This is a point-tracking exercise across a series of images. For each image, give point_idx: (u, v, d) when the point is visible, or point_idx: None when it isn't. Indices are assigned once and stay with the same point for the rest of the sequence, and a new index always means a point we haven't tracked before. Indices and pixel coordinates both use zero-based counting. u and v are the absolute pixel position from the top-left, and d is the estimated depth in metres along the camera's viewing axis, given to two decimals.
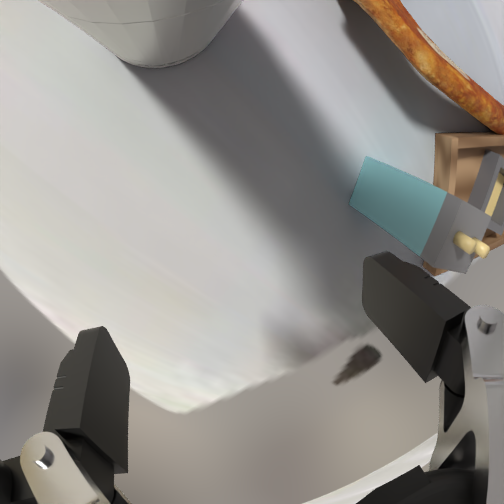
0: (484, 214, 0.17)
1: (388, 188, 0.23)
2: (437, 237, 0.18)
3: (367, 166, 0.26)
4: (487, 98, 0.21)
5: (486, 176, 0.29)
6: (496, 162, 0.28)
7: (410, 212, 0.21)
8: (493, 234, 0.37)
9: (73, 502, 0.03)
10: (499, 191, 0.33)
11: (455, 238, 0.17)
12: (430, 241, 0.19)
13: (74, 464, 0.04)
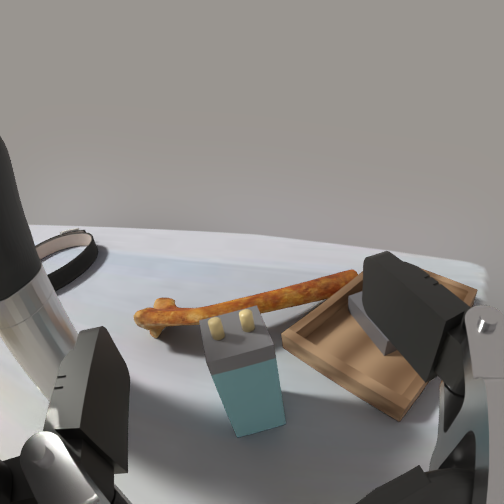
0: (241, 310, 0.26)
1: None
2: None
3: None
4: None
5: (360, 316, 0.36)
6: (353, 301, 0.38)
7: None
8: None
9: (73, 502, 0.03)
10: None
11: (211, 336, 0.23)
12: None
13: (74, 464, 0.04)
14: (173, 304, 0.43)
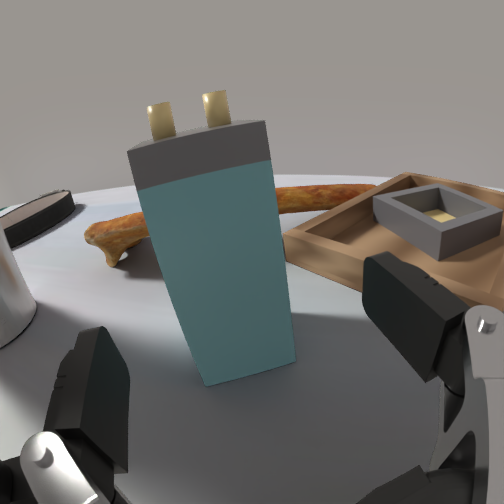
0: None
1: None
2: None
3: None
4: None
5: (394, 217, 0.25)
6: (380, 201, 0.27)
7: None
8: None
9: (73, 502, 0.03)
10: (450, 217, 0.27)
11: None
12: None
13: (74, 464, 0.04)
14: None
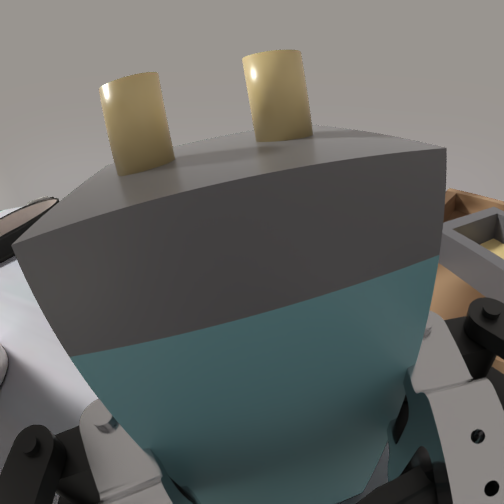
0: None
1: None
2: None
3: None
4: None
5: (459, 257, 0.18)
6: None
7: None
8: None
9: (131, 473, 0.04)
10: None
11: (115, 166, 0.05)
12: None
13: None
14: None
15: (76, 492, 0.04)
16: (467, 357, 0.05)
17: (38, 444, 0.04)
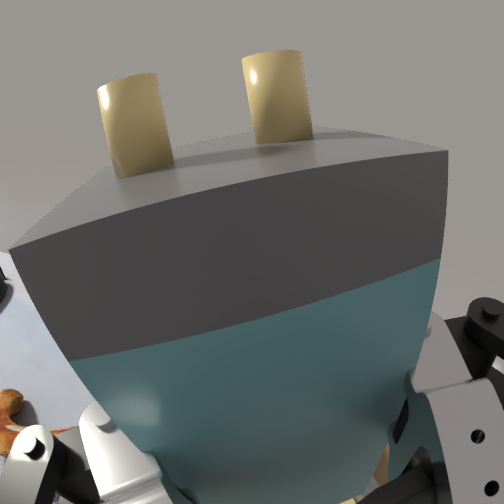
0: None
1: None
2: None
3: None
4: None
5: None
6: None
7: None
8: None
9: (132, 473, 0.04)
10: None
11: (113, 168, 0.05)
12: None
13: None
14: (6, 407, 0.21)
15: (76, 492, 0.04)
16: (467, 357, 0.05)
17: (38, 444, 0.04)
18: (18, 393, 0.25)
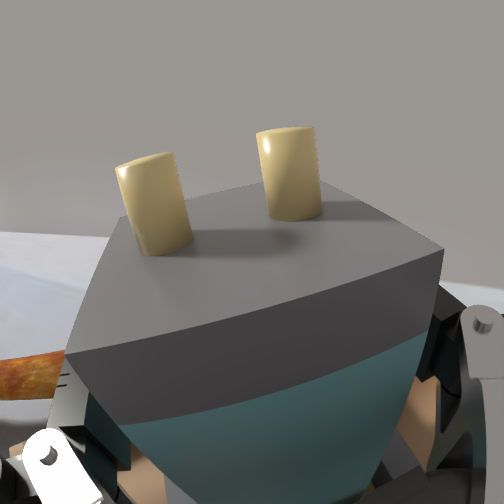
0: (260, 183, 0.08)
1: None
2: None
3: None
4: (35, 356, 0.15)
5: None
6: None
7: None
8: None
9: (76, 500, 0.03)
10: None
11: (137, 243, 0.05)
12: None
13: (78, 461, 0.04)
14: None
15: None
16: None
17: None
18: None
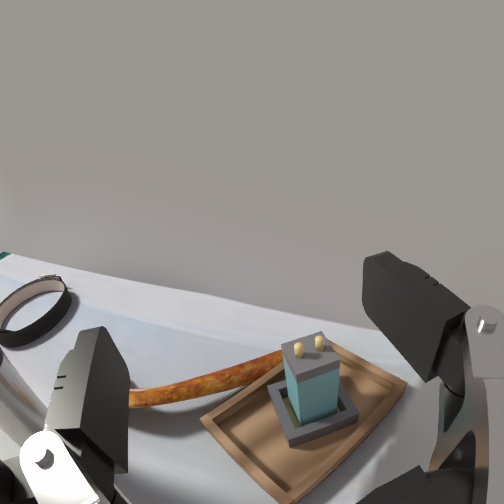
0: (311, 335, 0.34)
1: (291, 393, 0.36)
2: (290, 366, 0.32)
3: (290, 403, 0.38)
4: (204, 376, 0.41)
5: (274, 407, 0.37)
6: (270, 392, 0.39)
7: (291, 382, 0.33)
8: None
9: (73, 502, 0.03)
10: None
11: (295, 355, 0.32)
12: (292, 372, 0.31)
13: (74, 464, 0.04)
14: None
15: None
16: None
17: None
18: None
